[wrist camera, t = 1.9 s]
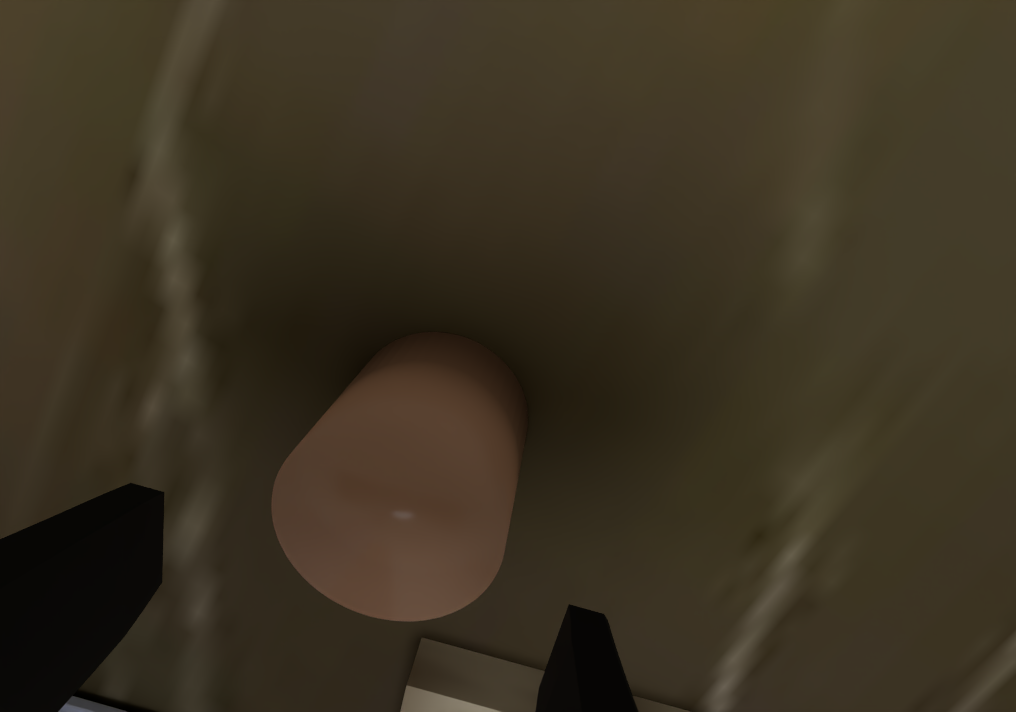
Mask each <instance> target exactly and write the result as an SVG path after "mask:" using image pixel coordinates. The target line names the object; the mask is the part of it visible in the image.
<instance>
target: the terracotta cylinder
mask: <svg viewBox="0 0 1016 712" xmlns="http://www.w3.org/2000/svg"><path fill="white" fill-rule="evenodd" d="M527 430H528V408H527V403H526V399H525V395H524V393H523V390H522V388H521V385H520V384H519V382H518V380H517V378H516V376H515V375H514V374H513V372H512V371H511V369H510V368H509V367H508V366H507V365H506V364H505V363H504V362H503V360H502V359H501V358H499V357H498V356H497V355H496V354H495V353H493V352H492V351H491V350H489V349H488V348H486V347H485V346H483V345H481V344H479V343H477V342H475V341H473V340H471V339H469V338H466V337H463V336H460V335H456V334H451V333H444V332H422V333H416V334H411V335H408V336H405V337H402V338H399V339H397V340H395V341H393V342H391V343H389V344H388V345H386V346H385V347H383V348H382V349H381V350H380V351H379V352H377V353H376V354H375V355H374V356H373V357H372V358H371V360H370V361H369V362H368V363H367V364H366V366H365V367H364V368H363V369H362V370H361V371H360V373H359V374H358V375H357V376H356V377H355V378H354V380H353V381H352V382H351V383H350V384H349V385H348V387H347V388H346V389H345V390H344V391H343V393H342V394H341V395H340V396H339V397H338V398H337V400H336V401H335V402H334V403H333V404H332V405H331V407H330V408H329V409H328V410H327V411H326V412H325V414H324V415H323V416H322V417H321V418H320V420H319V421H318V422H317V423H316V424H315V425H314V427H313V428H312V429H311V430H310V431H309V432H308V434H307V435H306V436H305V437H304V438H303V439H302V441H301V442H300V443H299V444H298V445H297V447H296V448H295V449H294V450H293V451H292V453H291V454H290V455H289V456H288V457H287V459H286V460H285V461H284V463H283V465H282V467H281V468H280V470H279V472H278V475H277V477H276V480H275V483H274V487H273V492H272V505H271V510H272V518H273V524H274V528H275V532H276V535H277V537H278V540H279V542H280V545H281V547H282V549H283V551H284V552H285V554H286V556H287V558H288V559H289V561H290V562H291V563H292V565H293V566H294V567H295V569H296V570H297V571H298V572H299V573H300V574H301V575H302V577H303V578H304V579H305V580H306V581H307V582H308V583H310V584H311V585H312V586H313V587H314V588H315V589H317V590H318V591H319V592H321V593H322V594H323V595H325V596H326V597H328V598H329V599H331V600H333V601H334V602H336V603H338V604H340V605H342V606H344V607H346V608H348V609H350V610H353V611H355V612H358V613H361V614H364V615H367V616H370V617H375V618H379V619H384V620H392V621H422V620H429V619H434V618H439V617H442V616H445V615H448V614H451V613H453V612H455V611H457V610H460V609H462V608H464V607H465V606H467V605H468V604H470V603H471V602H473V601H474V600H475V599H477V598H478V597H479V596H480V595H481V594H482V593H483V592H484V591H485V590H486V589H487V588H488V586H489V585H490V584H491V583H492V581H493V580H494V578H495V576H496V574H497V573H498V571H499V568H500V566H501V563H502V560H503V556H504V552H505V547H506V541H507V536H508V531H509V525H510V520H511V515H512V509H513V504H514V499H515V494H516V488H517V483H518V478H519V472H520V467H521V462H522V456H523V451H524V446H525V440H526V435H527Z"/></svg>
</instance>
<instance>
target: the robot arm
mask: <svg viewBox="0 0 1016 712" xmlns="http://www.w3.org/2000/svg"><path fill="white" fill-rule="evenodd" d="M163 523H164V492H161V491H158V490H154V489H151V488H147V487H143V486H140V485H136V484H133V483H130V484H127V485H125V486H122V487H120V488H117V489H115V490H112V491H110V492H107V493H105V494H103V495H101V496H98V497H96V498H94V499H91V500H89V501H87V502H85V503H82V504H80V505H78V506H76V507H73V508H71V509H69V510H66V511H64V512H62V513H60V514H57V515H55V516H53V517H51V518H48V519H46V520H44V521H42V522H39V523H37V524H35V525H32V526H30V527H28V528H25V529H23V530H21V531H18V532H16V533H14V534H11V535H9V536H7V537H4V538H2V539H0V712H128V711H125V710H121V709H117V708H114V707H110V706H107V705H103V704H100V703H96V702H93V701H89V700H86V699H82V698H79V697H75V696H73V695H74V693H75V692H76V691H77V690H78V689H79V688H80V687H81V686H82V685H83V683H84V682H85V681H86V680H87V679H88V678H89V677H90V675H91V674H92V673H93V672H94V671H95V670H96V669H97V667H98V666H99V665H100V664H101V663H102V662H103V661H104V659H105V658H106V657H107V656H108V655H109V654H110V653H111V651H112V650H113V649H114V648H115V647H116V646H117V645H118V643H119V642H120V641H121V640H122V639H123V638H124V636H125V635H126V634H127V632H128V631H129V629H130V628H131V627H132V625H133V624H134V622H135V621H136V620H137V618H138V617H139V615H140V614H141V613H142V611H143V610H144V608H145V607H146V605H147V604H148V602H149V601H150V599H151V598H152V596H153V595H154V594H155V592H156V591H157V589H158V588H159V586H160V585H161V583H162V564H163ZM535 712H639V711H638V709H637V706H636V703H635V701H634V698H633V695H632V693H631V690H630V687H629V684H628V681H627V679H626V676H625V673H624V670H623V667H622V664H621V661H620V658H619V655H618V652H617V649H616V646H615V643H614V640H613V636H612V633H611V630H610V626H609V623H608V620H607V618H606V617H605V615H604V614H602V613H598V612H595V611H591V610H587V609H584V608H580V607H577V606H573V605H569V606H568V608H567V611H566V614H565V617H564V619H563V622H562V625H561V628H560V631H559V633H558V636H557V639H556V642H555V644H554V647H553V650H552V653H551V656H550V658H549V661H548V664H547V667H546V669H545V672H544V675H543V678H542V681H541V683H540V686H539V690H538V697H537V704H536V711H535Z"/></svg>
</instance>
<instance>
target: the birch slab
mask: <svg viewBox="0 0 1016 712" xmlns="http://www.w3.org/2000/svg"><path fill="white" fill-rule="evenodd" d="M544 672H545V671H542V670H538V669H535V668H531V667H528V666H524V665H520V664H517V663H513V662H510V661H506V660H502V659H499V658H495V657H491V656H488V655H484V654H481V653H477V652H473V651H470V650H466V649H462V648H459V647H455V646H452V645H448V644H444V643H441V642H437V641H433V640H430V639H426V638H423V637H422V638H421V641H420V644H419V648H418V651H417V654H416V657H415V660H414V664H413V667H412V670H411V673H410V676H409V679H408V683H407V686H406V690H405V694H404V698H403V703H402V707H401V711H400V712H535V711H536V704H537V697H538V690H539V686H540V683H541V681H542V678H543V675H544ZM633 698H634V701H635V703H636V706H637V709H638V711H639V712H691V711H687V710H683V709H680V708H676V707H673V706H669V705H665V704H662V703H658V702H654V701H651V700H647V699H644V698H640V697H636V696H633Z"/></svg>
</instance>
